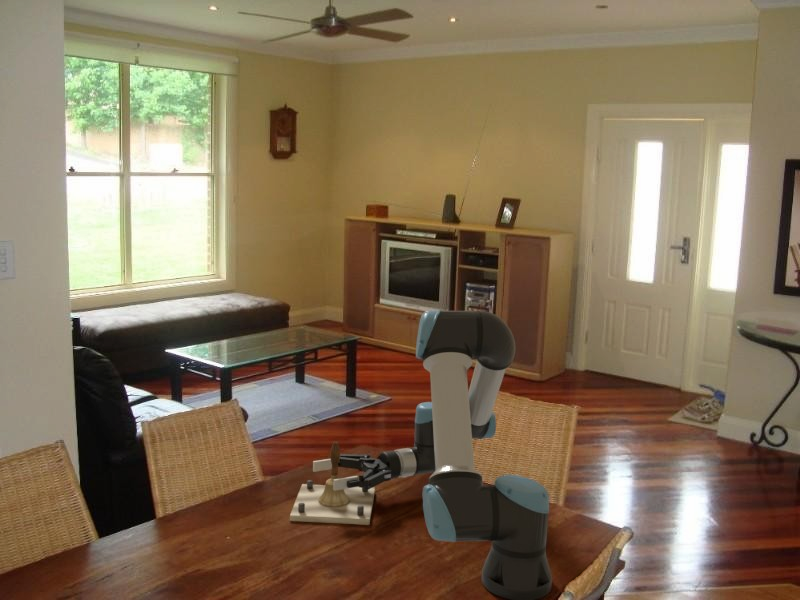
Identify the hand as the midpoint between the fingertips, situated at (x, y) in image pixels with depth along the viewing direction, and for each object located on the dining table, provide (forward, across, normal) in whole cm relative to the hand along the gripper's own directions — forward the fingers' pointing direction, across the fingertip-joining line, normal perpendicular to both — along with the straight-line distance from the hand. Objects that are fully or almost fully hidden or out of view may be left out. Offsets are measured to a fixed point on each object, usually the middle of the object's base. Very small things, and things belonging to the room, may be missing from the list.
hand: (323, 475), depth 210 cm
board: (-3, 0, -9) cm, 10 cm away
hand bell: (-3, 0, -8) cm, 8 cm away
